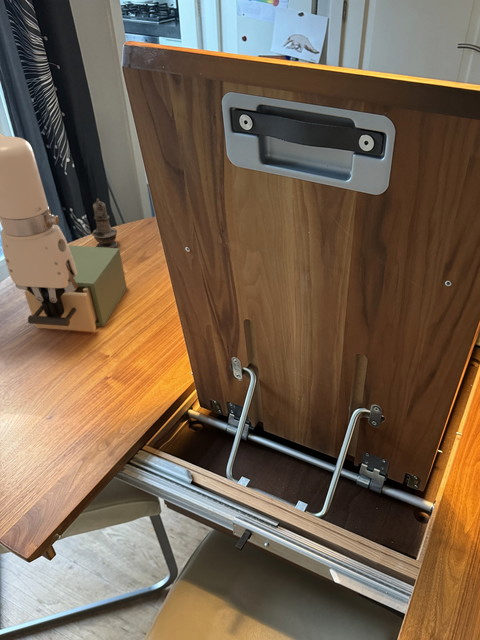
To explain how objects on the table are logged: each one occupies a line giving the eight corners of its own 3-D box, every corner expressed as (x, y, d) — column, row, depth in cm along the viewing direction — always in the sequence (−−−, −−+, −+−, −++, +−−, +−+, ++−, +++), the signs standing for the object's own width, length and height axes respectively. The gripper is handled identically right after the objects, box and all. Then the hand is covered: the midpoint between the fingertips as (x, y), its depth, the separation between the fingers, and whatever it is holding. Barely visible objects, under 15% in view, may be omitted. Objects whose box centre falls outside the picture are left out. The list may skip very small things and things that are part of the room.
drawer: (84, 347, 95) (74, 311, 90) (24, 342, 95) (11, 306, 90) (117, 295, 109) (110, 261, 104) (64, 291, 109) (55, 258, 104)
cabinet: (103, 326, 101) (93, 283, 95) (41, 322, 102) (27, 279, 96) (127, 288, 113) (119, 248, 106) (70, 285, 113) (59, 244, 107)
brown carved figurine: (118, 239, 131) (109, 192, 124) (120, 249, 127) (111, 201, 119) (94, 242, 130) (83, 195, 122) (95, 252, 125) (84, 204, 118)
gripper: (81, 214, 86) (103, 308, 97) (-7, 210, 86) (26, 304, 98) (62, 233, 80) (88, 331, 91) (-31, 228, 81) (7, 326, 92)
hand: (56, 317), depth 95 cm, fingers closed
